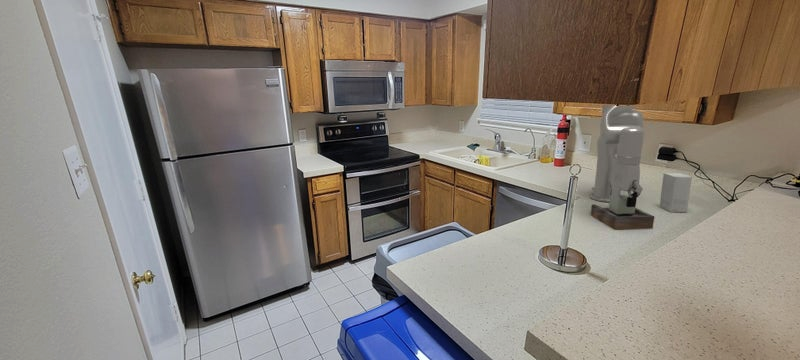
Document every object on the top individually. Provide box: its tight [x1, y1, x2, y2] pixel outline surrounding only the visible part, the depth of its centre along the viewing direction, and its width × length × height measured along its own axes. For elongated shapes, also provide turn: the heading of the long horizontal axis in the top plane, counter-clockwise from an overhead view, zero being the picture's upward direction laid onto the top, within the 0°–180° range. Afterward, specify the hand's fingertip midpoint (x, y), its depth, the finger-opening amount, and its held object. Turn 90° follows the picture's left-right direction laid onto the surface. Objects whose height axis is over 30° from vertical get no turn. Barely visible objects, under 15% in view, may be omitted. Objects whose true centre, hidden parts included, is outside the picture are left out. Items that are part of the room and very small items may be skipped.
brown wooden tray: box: [590, 203, 655, 231], centre depth 128 cm, size 16×14×5 cm
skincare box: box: [659, 172, 693, 213], centre depth 137 cm, size 8×7×16 cm
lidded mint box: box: [608, 186, 637, 217], centre depth 126 cm, size 5×7×11 cm
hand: (622, 202), depth 127 cm, fingers open, 9 cm apart
